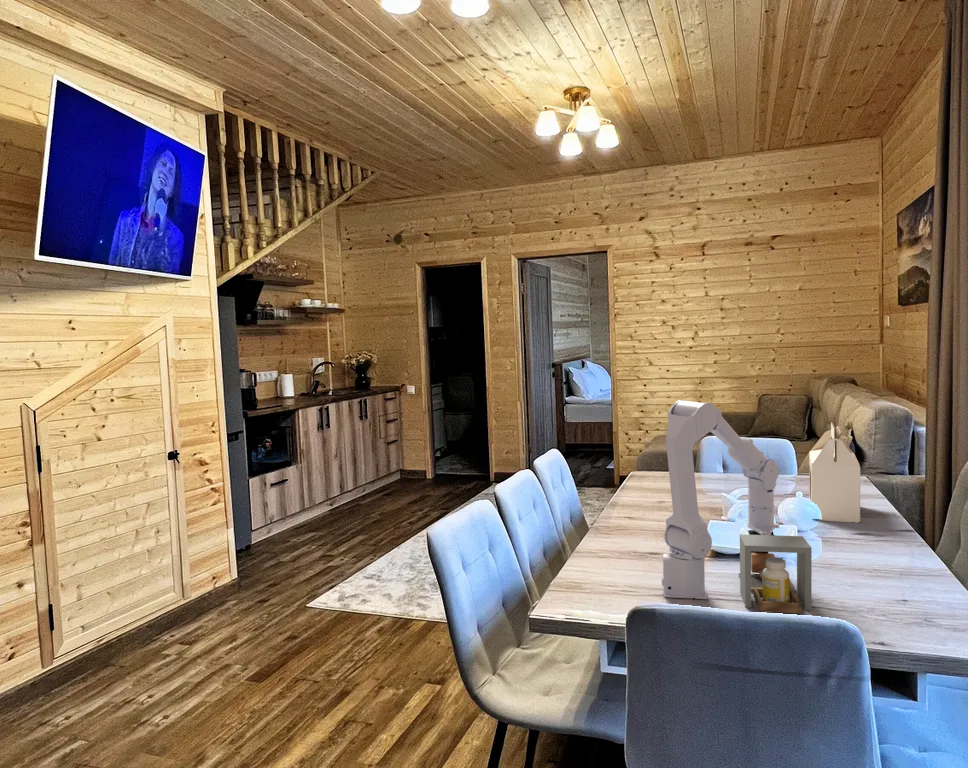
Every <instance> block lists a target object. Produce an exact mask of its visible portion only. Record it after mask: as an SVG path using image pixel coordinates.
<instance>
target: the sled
mask: <svg viewBox="0 0 968 768" xmlns="http://www.w3.org/2000/svg"><path fill="white" fill-rule="evenodd" d="M767 558H775V554H774V553H772V552H768V553H755V552H751V574H760V576H761V578H762V572H763V570H764V569H765V568H767V567H766V559H767ZM752 594H753V599H754V601H755V603H756V606H757V608H758V610H759V612H764V611H765V612H764V613H766V612H767V613H768V612H769V613H784V614H785V613H786V614H802V604H801V602H800V600H799V599H798V597H797V594H795V592H794V591H793V589H789V595H790V603H789V602H769V601H763V588H753V592H752Z"/></svg>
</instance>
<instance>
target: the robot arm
mask: <svg viewBox="0 0 968 768" xmlns="http://www.w3.org/2000/svg"><path fill="white" fill-rule="evenodd" d="M722 415H723V414H722V411H721V410H720V409H719V408H717V407H716V405H715V404H714V403H711V402H700V401H699V402H698V401H691V400H690V401H689V400H684V399H679V400H677V401H675V402H674V403H673V404H672V406H671V407H670V408H669V409H668V411H667V420H668V427H667V431H666V436H665V445H666V454H667V465H668V473H669V476H668V477H669V484H670V485H669V486H670V495H671V503H672V504H671V505H672V514H671V515H669V516H668V517H667V518H666V519H665V523H666V524H665V530H664V539H663V540H664V542H665V544H666V546H668V547H669V552H670V553H669V552H668V553H662V577H661V586H663V597H665V598H676V599H693V598H695V600H696V599H697V600H698V599H699V600H708V599H709V595H708V592H707V587H706V583H705V582H706V581H705V579H706V578H705V558H707V556H708V554H709V553H710V551H711V549H712V545H713V539H712V537H711V535H710V532H709V530H708V523H707V522H705V520H704V518H703V517H702V516H701V515H700V513H699V505H698V495H697V486H696V484H697V483H696V476H695V465H694V464H695V463H694V455H693V446H694V444H695V443H696V442H698V441H700V440H701V439H702V438H703V437H705V436H706V435H707V434H709V433H712V435H714V436H715V437H716V438H717V439H718V440H719V441H721V442H722V443H723V444H725V446H727V452H728V453H727V454H728V456H730V458H731V459H732V460H734V461H735V463H737V464H738V466H740V467H741V471H742V474H743V476H744V477H746V478H747V481H748V482H747V484H748V485H747V486H748V487H747V489H748V493H747V494H748V495H747V496H748V497H747V499H748V502H747V503H748V504H747V506H748V508H747V509H748V510H747V511H748V512H747V513H748V517H747V518H748V521H747V528H749V529H750V530H747V532H748V535H775V534H774V532H773V531H774V530H775V529H779V528H780V525H779V523H777V522H775V507H774V506H775V504H774V503H775V498H774V497H775V493H774V492H775V491H774V490H775V489H776V487H777V480H778V477H779V476H780V468H779V466H778V464H777V462H776V461H775V460H774V459H773V458H768V457H767V456H766V455H765V452H763V450H760V448H758V447H757V446H756V445H755V444H753V443H754V440H753V439H752V438H749V437H745V436H742V437H741V436H739V435H738V433H737V432H736V431H735V430H734V429H733V428H732V426H731V425H730V424H729V423H728V421H726V419H724V418H725V417H723V416H722ZM753 553H769V552H759V551H753Z"/></svg>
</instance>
